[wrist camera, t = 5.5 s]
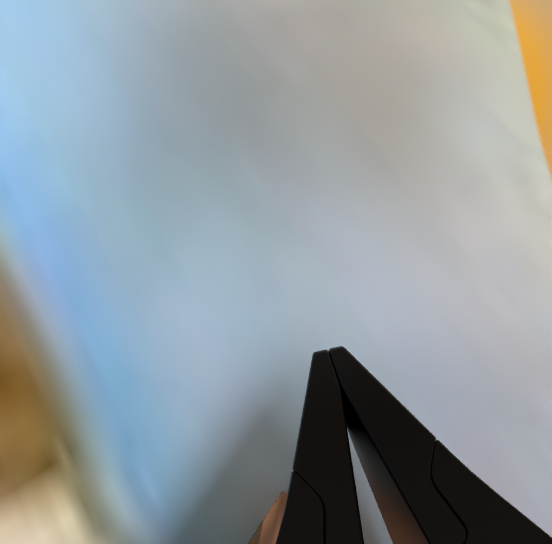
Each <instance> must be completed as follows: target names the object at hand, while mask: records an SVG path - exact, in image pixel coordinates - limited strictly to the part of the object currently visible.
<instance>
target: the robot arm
mask: <svg viewBox="0 0 552 544" xmlns="http://www.w3.org/2000/svg"><path fill="white" fill-rule="evenodd" d="M347 429H348V432H349V434H350V437H351V440H352V442H353V445H354V447H355V450H356V452H357V455H358V457H359V460H360V462H361V465H362V467H363V470H364V472H365V475H366V477H367V479H368V482H369V484H370V487H371V489H372V492H373V494H374V497H375V499H376V502H377V504H378V507H379V509H380V512H381V514H382V517H383V519H384V522H385V524H386V527H387V529H388V532H389V534H390V537H391V539H392V542H393V544H552V537H550V536H549V535H548V534H547V533H545V532H544V531H543V530H542V529H541V528H539V527H538V526H537V525H536V524H534V523H533V522H532V521H531V520H530V519H528V518H527V517H526V516H525V515H523V514H522V513H521V512H520V511H518V510H517V509H516V508H515V507H514V506H512V505H511V504H510V503H509V502H507V501H506V500H505V499H504V498H502V497H501V496H500V495H499V494H498V493H496V492H495V491H494V490H493V489H492V488H490V487H489V486H488V485H487V484H486V483H484V482H483V481H482V480H481V479H480V478H479V477H477V476H476V475H475V474H474V473H473V472H471V471H470V470H469V469H468V468H467V467H466V466H465V465H464V464H463V463H462V462H461V461H460V460H459V459H458V458H456V457H455V456H454V455H453V454H452V453H451V452H450V451H449V450H448V449H447V448H446V447H445V446H444V445H443V444H442V443H441V442H440V441H439V440H436V437H435V436H434V435H433V434H432V433H431V432H430V431H429V430H428V429H427V428H426V427H425V426H424V425H423V424H422V423H421V422H420V421H418V420H417V419H416V418H415V417H414V416H413V415H412V414H411V413H410V412H409V411H408V410H407V409H406V408H405V407H404V406H403V405H402V404H401V403H400V402H399V401H398V400H397V399H396V398H395V397H394V396H393V395H392V394H391V393H390V392H389V391H388V390H387V389H386V388H385V387H384V386H383V385H382V384H381V383H380V382H379V381H378V380H377V379H376V378H375V377H374V376H373V375H372V374H371V373H370V372H369V371H368V370H367V369H366V368H365V367H364V366H363V365H362V364H361V363H360V362H359V361H358V360H357V359H356V358H355V357H354V356H353V355H352V354H351V353H350V352H349V351H348V350H346V349H345V348H344V347H342V346H340V347H335V348H331V349H329V351H328V350H322V351H317V352H314V353H313V356H312V361H311V367H310V373H309V378H308V384H307V390H306V395H305V401H304V407H303V413H302V418H301V424H300V430H299V435H298V441H297V447H296V452H295V458H294V464H293V471H292V474H291V480H290V485H289V490H288V495H287V500H286V505H285V509H284V514H283V517H282V521H281V525H280V528H279V532H278V536H277V539H276V543H275V544H364V540H363V533H362V526H361V520H360V513H359V506H358V500H357V493H356V486H355V479H354V473H353V466H352V459H351V452H350V446H349V439H348V432H347Z"/></svg>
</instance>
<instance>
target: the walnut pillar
mask: <svg viewBox="0 0 552 544" xmlns="http://www.w3.org/2000/svg"><path fill="white" fill-rule="evenodd" d="M286 500H287V494H285V493H284V492H283V491H282V493H281V494H280V496H279V497H278V499H277V500H276V502H275V503H274V505H273V506H272V508H271V509H270V511H269V512H268V514H267V516H266V517H265V519H264V520H263V522H262V523H261V525H260V526H259V528H258V529H257V531H256V532H255V534H254V535H253V537H252V538H251V540H250V541H249V543H248V544H275V543H276V539H277V536H278V532H279V528H280V525H281V521H282V517H283V514H284V509H285V505H286Z"/></svg>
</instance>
